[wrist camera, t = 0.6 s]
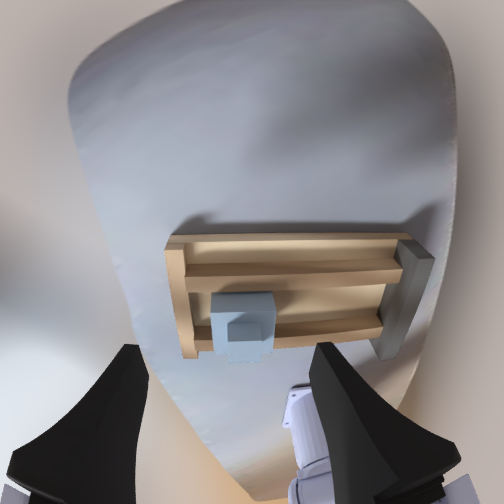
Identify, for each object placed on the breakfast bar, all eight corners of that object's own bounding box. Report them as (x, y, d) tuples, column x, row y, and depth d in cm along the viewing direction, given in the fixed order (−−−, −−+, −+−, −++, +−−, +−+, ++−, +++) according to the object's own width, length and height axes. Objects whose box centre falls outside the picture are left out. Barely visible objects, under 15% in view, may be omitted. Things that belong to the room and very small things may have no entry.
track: (377, 327, 25) (395, 358, 22) (186, 339, 24) (181, 377, 20) (406, 232, 21) (435, 258, 17) (170, 235, 19) (157, 266, 15)
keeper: (267, 322, 22) (275, 369, 18) (215, 323, 22) (213, 372, 17) (269, 281, 20) (280, 328, 16) (212, 283, 20) (209, 331, 15)
